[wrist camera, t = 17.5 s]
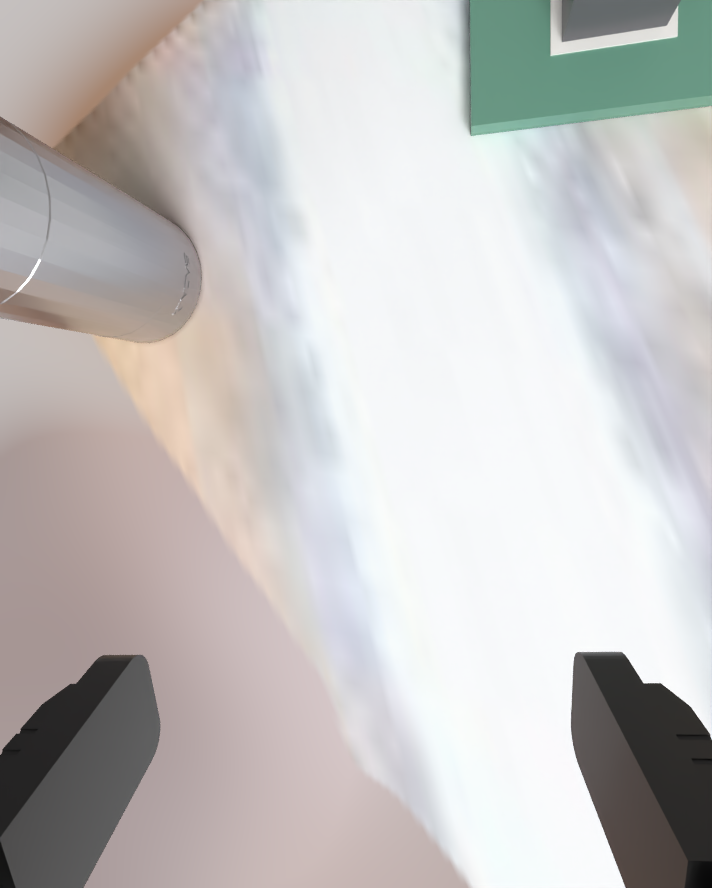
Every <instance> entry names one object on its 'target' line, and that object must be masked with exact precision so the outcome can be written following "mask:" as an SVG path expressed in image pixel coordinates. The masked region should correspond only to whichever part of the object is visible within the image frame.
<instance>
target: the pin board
mask: <svg viewBox="0 0 712 888" xmlns="http://www.w3.org/2000/svg"><path fill="white" fill-rule="evenodd" d="M470 92H471V136H474V135H482V134H490V133H498V132H506V131H514V130H522V129H530V128H538V127H546V126H554V125H562V124H570V123H578V122H586V121H594V120H602V119H610V118H618V117H626V116H634V115H642V114H650V113H658V112H666V111H674V110H682V109H690V108H698V107H706V106H712V0H681V1H680V3H679V5H678V6H677V8H676V10H675V12H674V14H673V15H672V17H671V19H670V21H669V23H668V24H667V26H662V27H656V28H650V29H643V30H637V31H630V32H624V33H618V34H611V35H605V36H599V37H592V38H586V39H579V40H573V41H567V42H562V0H470Z"/></svg>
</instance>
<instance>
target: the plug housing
mask: <svg viewBox="0 0 712 888" xmlns="http://www.w3.org/2000/svg"><path fill="white" fill-rule="evenodd" d="M680 1H681V0H562V42H567V41H573V40H579V39H586V38H592V37H599V36H605V35H611V34H618V33H624V32H630V31H637V30H643V29H650V28H656V27H662V26H667V24H668V23H669V21H670V19H671V17H672V15H673V14H674V12H675V10H676V8H677V6H678V5H679V3H680Z"/></svg>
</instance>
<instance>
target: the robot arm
mask: <svg viewBox="0 0 712 888" xmlns="http://www.w3.org/2000/svg"><path fill="white" fill-rule="evenodd" d="M200 289H201V269H200V262H199V259H198V256H197V253H196V250H195V248H194V246H193V244H192V243H191V241H190V239H189V238H188V237H187V235H186V234H185V233H184V232H183V231H182V230H181V229H180V228H179V227H178V226H176V225H175V224H174V223H172V222H171V221H169V220H168V219H166V218H164V217H163V216H161V215H160V214H158V213H156V212H155V211H153V210H151V209H150V208H148V207H147V206H145V205H143V204H142V203H140V202H139V201H137V200H136V199H134V198H132V197H131V196H129V195H128V194H126V193H124V192H123V191H121V190H119V189H118V188H116V187H114V186H113V185H111V184H110V183H108V182H106V181H105V180H103V179H101V178H100V177H98V176H96V175H95V174H93V173H92V172H90V171H88V170H87V169H85V168H83V167H82V166H80V165H79V164H77V163H75V162H74V161H72V160H70V159H69V158H67V157H65V156H64V155H62V154H61V153H59V152H57V151H56V150H54V149H52V148H51V147H49V146H47V145H46V144H44V143H43V142H41V141H39V140H38V139H36V138H34V137H33V136H31V135H29V134H28V133H26V132H25V131H23V130H21V129H20V128H18V127H16V126H15V125H13V124H12V123H10V122H8V121H7V120H5V119H3V118H1V117H0V318H2V319H8V320H14V321H19V322H25V323H31V324H37V325H42V326H48V327H54V328H59V329H65V330H70V331H76V332H82V333H87V334H93V335H98V336H103V337H109V338H114V339H120V340H126V341H131V342H137V343H151V342H155V341H160V340H163V339H165V338H167V337H169V336H171V335H173V334H174V333H175V332H176V331H178V330H179V329H180V328H181V327H182V326H183V325H184V324H185V323H186V321H187V320H188V319H189V318H190V316H191V314H192V313H193V311H194V309H195V307H196V305H197V301H198V298H199V294H200ZM571 732H572V740H573V746H574V751H575V755H576V758H577V762H578V764H579V767H580V770H581V772H582V775H583V778H584V780H585V783H586V785H587V788H588V791H589V793H590V796H591V798H592V801H593V804H594V806H595V809H596V811H597V814H598V817H599V819H600V822H601V824H602V827H603V830H604V832H605V835H606V838H607V840H608V843H609V845H610V848H611V851H612V853H613V856H614V858H615V861H616V864H617V866H618V869H619V871H620V874H621V877H622V879H623V882H624V884H625V887H626V888H712V740H711V737H710V734H709V732H708V731H707V729H706V728H705V727H704V725H703V724H702V722H701V721H700V720H699V718H698V717H697V715H696V714H695V712H694V711H693V710H692V708H691V707H690V706H689V705H688V704H686V703H685V702H684V701H683V700H681V699H680V698H679V697H677V696H676V695H675V694H674V693H672V692H671V691H670V690H669V689H667V688H666V687H665V686H663V685H662V684H661V683H648V684H643V682H642V680H641V679H640V677H639V676H638V674H637V673H636V671H635V669H634V668H633V666H632V665H631V663H630V661H629V660H628V658H627V657H626V656H625V655H624V654H623V653H622V652H577V653H576V654H575V657H574V666H573V688H572V710H571ZM159 736H160V718H159V714H158V708H157V704H156V699H155V694H154V689H153V684H152V679H151V675H150V670H149V665H148V662H147V660H146V658H145V657H144V656H143V655H103V656H101V657H99V658H98V659H97V660H96V661H95V662H94V663H93V665H92V666H91V667H90V668H89V669H88V670H87V672H86V673H85V674H84V675H83V676H82V678H81V679H80V680H79V681H78V682H77V683H76V684H70V685H68V686H67V687H66V688H64V689H63V690H61V691H60V692H59V693H57V694H56V695H55V696H53V697H52V698H50V699H49V700H48V701H46V702H45V703H44V704H42V705H41V706H40V707H39V709H38V710H37V711H36V712H35V713H34V714H33V715H32V717H31V718H30V719H29V720H28V721H27V722H26V724H25V725H24V726H23V727H22V728H21V731H20V734H16V735H15V736H14V737H13V738H12V739H11V740H10V742H9V743H8V744H7V745H6V746H5V747H4V748H3V752H2V754H1V755H0V888H84V886H85V884H86V882H87V880H88V878H89V876H90V874H91V873H92V871H93V869H94V867H95V865H96V863H97V861H98V859H99V858H100V856H101V854H102V852H103V850H104V848H105V847H106V845H107V843H108V841H109V839H110V837H111V835H112V834H113V832H114V830H115V828H116V826H117V824H118V822H119V820H120V819H121V817H122V815H123V813H124V811H125V809H126V807H127V806H128V804H129V802H130V800H131V798H132V796H133V794H134V792H135V791H136V789H137V787H138V785H139V783H140V781H141V779H142V778H143V776H144V774H145V772H146V770H147V768H148V766H149V765H150V763H151V761H152V759H153V757H154V754H155V752H156V749H157V746H158V742H159Z"/></svg>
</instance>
